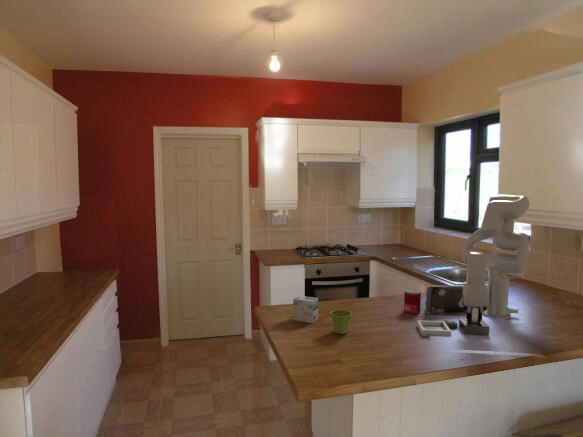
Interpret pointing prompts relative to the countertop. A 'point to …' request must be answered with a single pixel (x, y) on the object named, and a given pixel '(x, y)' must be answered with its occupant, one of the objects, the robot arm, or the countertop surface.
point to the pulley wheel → (450, 324)
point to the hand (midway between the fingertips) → (473, 320)
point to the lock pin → (474, 315)
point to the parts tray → (427, 332)
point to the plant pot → (341, 320)
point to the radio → (444, 300)
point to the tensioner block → (473, 328)
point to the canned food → (412, 301)
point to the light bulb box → (305, 309)
